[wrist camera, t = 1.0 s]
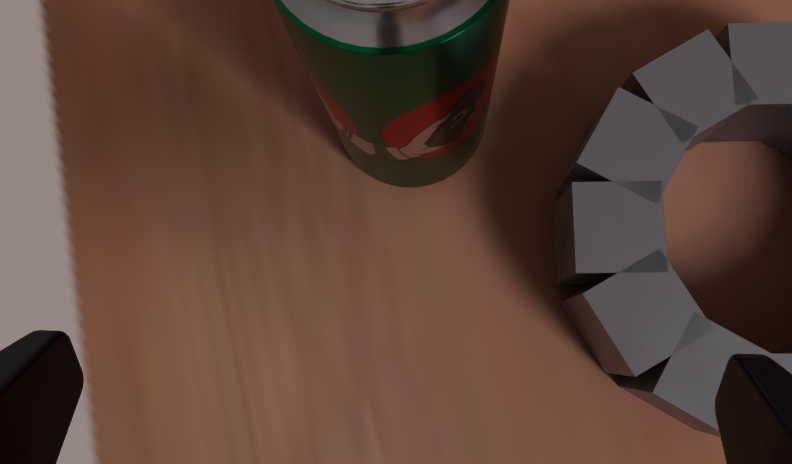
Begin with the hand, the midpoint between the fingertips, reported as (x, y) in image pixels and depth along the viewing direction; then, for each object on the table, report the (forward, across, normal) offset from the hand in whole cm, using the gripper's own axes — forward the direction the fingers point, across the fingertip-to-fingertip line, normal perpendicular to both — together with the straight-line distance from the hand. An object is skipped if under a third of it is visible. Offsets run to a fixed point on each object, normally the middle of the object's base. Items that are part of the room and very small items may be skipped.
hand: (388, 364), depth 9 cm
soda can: (+15, 0, +3) cm, 16 cm away
